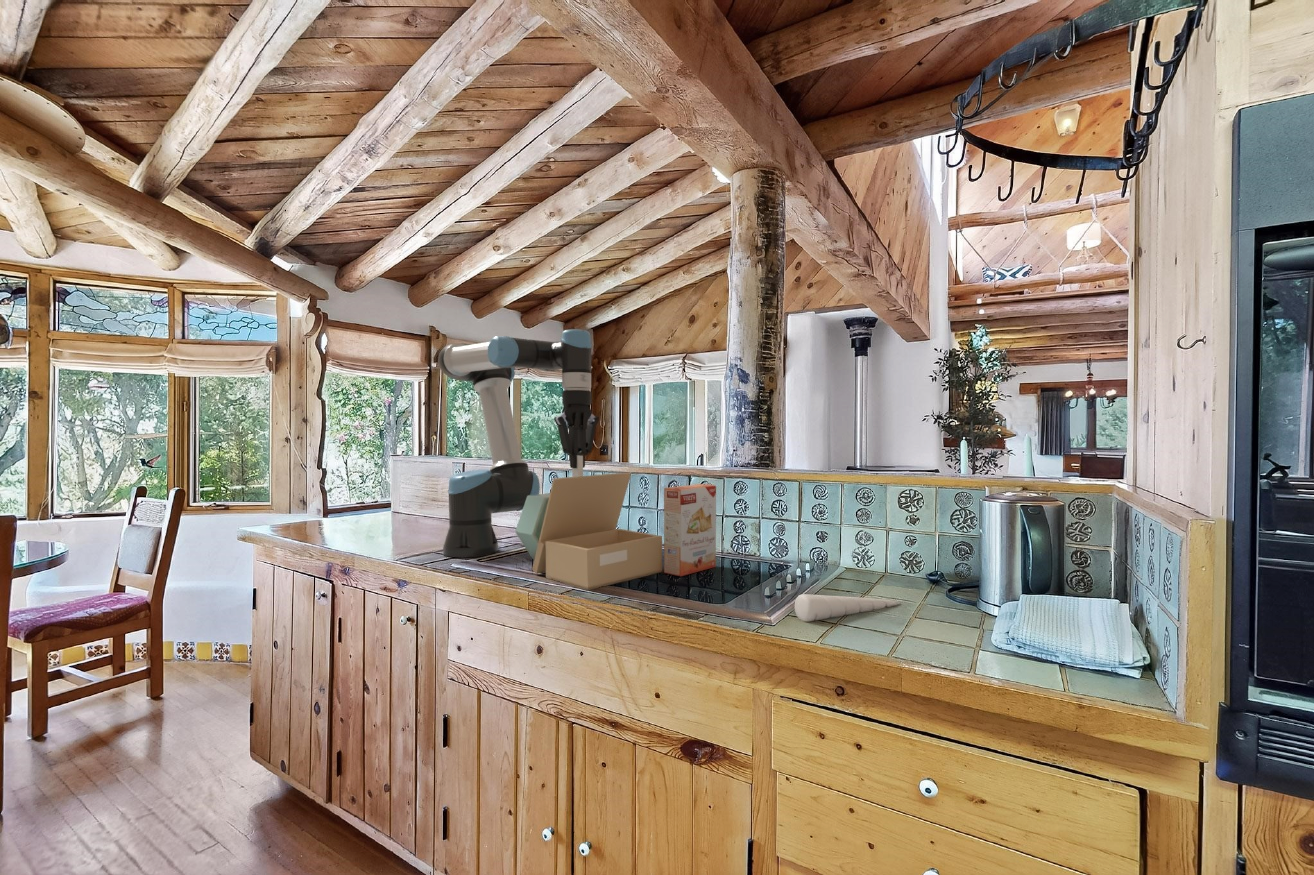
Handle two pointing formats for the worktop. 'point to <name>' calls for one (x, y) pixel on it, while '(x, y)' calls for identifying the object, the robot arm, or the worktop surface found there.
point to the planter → (532, 521)
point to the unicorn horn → (835, 606)
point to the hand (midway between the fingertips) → (577, 480)
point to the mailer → (603, 558)
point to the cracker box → (689, 529)
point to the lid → (581, 509)
